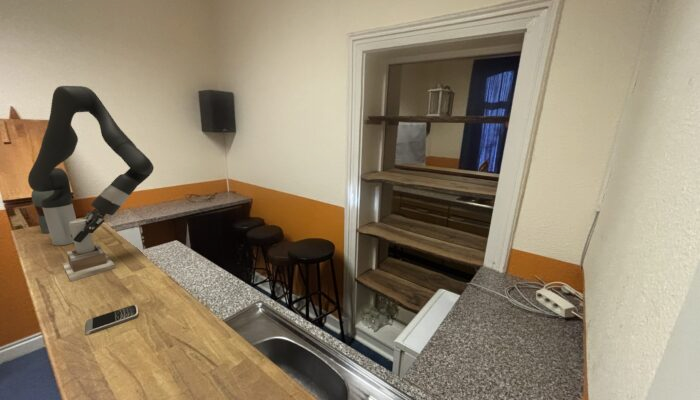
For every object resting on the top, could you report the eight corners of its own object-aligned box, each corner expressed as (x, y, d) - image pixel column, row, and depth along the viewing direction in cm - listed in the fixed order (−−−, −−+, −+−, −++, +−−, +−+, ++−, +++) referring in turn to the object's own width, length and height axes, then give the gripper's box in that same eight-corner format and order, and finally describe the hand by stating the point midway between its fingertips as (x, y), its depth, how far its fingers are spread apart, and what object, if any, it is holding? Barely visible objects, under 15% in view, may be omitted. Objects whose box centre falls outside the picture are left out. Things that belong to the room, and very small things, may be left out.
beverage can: (86, 255, 99) (78, 223, 96) (73, 255, 99) (64, 223, 96) (98, 249, 103) (90, 218, 100) (86, 249, 104) (78, 218, 101)
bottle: (35, 234, 135) (17, 173, 127) (51, 228, 143) (35, 170, 136) (58, 233, 136) (42, 172, 129) (72, 226, 145) (57, 169, 138)
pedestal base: (63, 267, 103) (58, 250, 101) (105, 255, 112) (101, 240, 110) (70, 281, 93) (65, 263, 91) (115, 267, 102) (111, 251, 101)
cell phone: (139, 318, 76) (138, 313, 75) (84, 337, 69) (83, 333, 68) (137, 307, 80) (136, 303, 80) (85, 324, 73) (84, 320, 73)
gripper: (95, 191, 106) (59, 230, 100) (104, 197, 97) (65, 239, 91) (116, 202, 111) (82, 239, 105) (126, 208, 103) (91, 249, 97)
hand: (75, 239), depth 98 cm, fingers closed on beverage can, 4 cm apart
